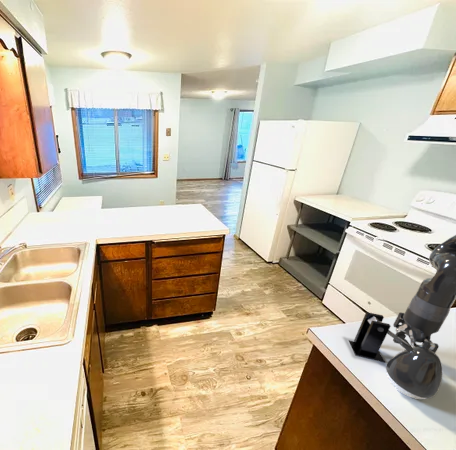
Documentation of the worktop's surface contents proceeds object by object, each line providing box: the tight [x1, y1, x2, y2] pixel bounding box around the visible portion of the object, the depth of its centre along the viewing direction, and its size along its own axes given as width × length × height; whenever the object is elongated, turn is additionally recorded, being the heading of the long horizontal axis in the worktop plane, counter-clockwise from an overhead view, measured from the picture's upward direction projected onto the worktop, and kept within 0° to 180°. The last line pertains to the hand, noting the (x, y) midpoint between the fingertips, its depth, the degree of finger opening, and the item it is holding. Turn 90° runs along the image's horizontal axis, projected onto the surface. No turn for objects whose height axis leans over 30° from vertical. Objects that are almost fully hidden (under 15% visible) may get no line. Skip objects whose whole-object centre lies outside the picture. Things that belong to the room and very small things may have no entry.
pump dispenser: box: [385, 341, 443, 400], centre depth 66 cm, size 10×10×15 cm
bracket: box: [348, 311, 392, 364], centre depth 78 cm, size 8×8×14 cm
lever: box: [368, 316, 413, 348], centre depth 76 cm, size 14×5×2 cm
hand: (404, 352), depth 77 cm, fingers open, 7 cm apart
